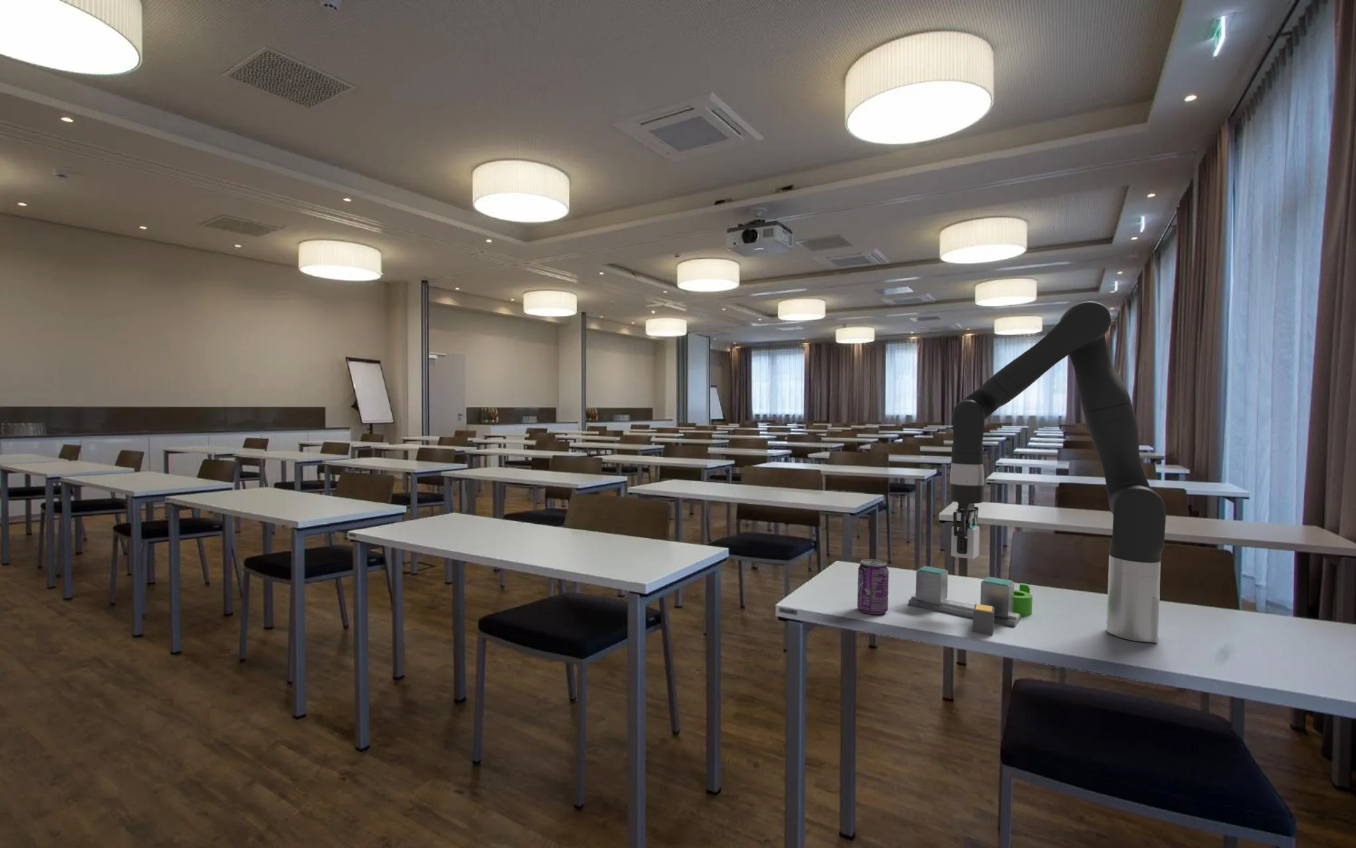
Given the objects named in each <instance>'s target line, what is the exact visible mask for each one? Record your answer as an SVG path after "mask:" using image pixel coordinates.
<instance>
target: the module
mask: <svg viewBox="0 0 1356 848" xmlns="http://www.w3.org/2000/svg"><path fill="white" fill-rule="evenodd" d="M959 531H960V532H963V531H962V528H960V529H959ZM950 539H951V543H950V544H951V545H950V548H951V550H950V551H951V552H950V556H951V557H955V558H956V557H957V558H962V559H963V558H964V559H969V560H975V559H976V558H977V557H978V556H979V555H980V526H978V524H977V525H972V526H971V529H969V530H968V538H967V539H968V540H967V553H966V554H959V553H957V538H956V536H954V525H953V526H952V527H951V538H950Z"/></svg>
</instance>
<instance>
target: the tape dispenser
mask: <svg viewBox="0 0 1356 848" xmlns="http://www.w3.org/2000/svg"><path fill="white" fill-rule="evenodd" d="M1013 613H1018V614H1021V617H1029V616H1032V614H1033V594H1031V589H1030V585H1028V584H1027V583H1023V582H1022V583H1021V582H1020V583H1019V589H1014V609H1013Z"/></svg>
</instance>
